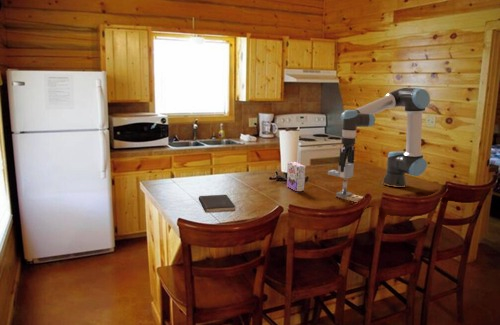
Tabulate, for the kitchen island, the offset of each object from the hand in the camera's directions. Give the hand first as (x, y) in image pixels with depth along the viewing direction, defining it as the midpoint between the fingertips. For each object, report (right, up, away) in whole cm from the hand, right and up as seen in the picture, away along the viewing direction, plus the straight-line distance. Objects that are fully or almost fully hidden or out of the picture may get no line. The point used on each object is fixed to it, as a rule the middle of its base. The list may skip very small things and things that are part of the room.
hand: (345, 176), depth 234 cm
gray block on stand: (0, -13, +3) cm, 13 cm away
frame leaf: (+5, -14, -2) cm, 15 cm away
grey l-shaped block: (-3, 0, +2) cm, 4 cm away
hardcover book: (-74, -15, -15) cm, 77 cm away
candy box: (-27, -9, +19) cm, 34 cm away
